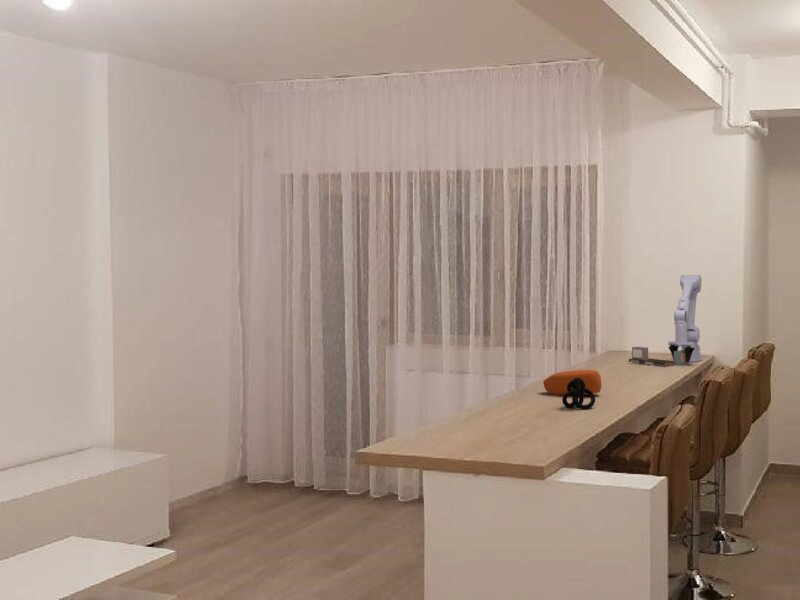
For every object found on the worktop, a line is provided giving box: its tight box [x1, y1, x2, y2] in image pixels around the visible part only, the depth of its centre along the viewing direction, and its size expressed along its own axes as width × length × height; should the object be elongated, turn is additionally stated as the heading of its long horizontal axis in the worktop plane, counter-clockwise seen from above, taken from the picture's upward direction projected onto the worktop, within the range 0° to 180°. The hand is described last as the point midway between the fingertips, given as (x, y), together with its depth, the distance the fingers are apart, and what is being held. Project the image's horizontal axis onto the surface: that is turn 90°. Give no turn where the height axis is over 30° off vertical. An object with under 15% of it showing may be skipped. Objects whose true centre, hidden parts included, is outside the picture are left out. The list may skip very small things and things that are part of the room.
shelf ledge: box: [628, 357, 675, 368], centre depth 544 cm, size 8×22×2 cm, turn 38°
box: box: [631, 346, 649, 361], centre depth 549 cm, size 4×7×7 cm, turn 39°
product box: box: [673, 349, 690, 367], centre depth 539 cm, size 4×7×7 cm, turn 129°
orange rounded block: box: [542, 369, 602, 396], centre depth 455 cm, size 12×11×25 cm
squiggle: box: [561, 377, 596, 410], centre depth 424 cm, size 11×10×15 cm
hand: (681, 361), depth 540 cm, fingers open, 7 cm apart
